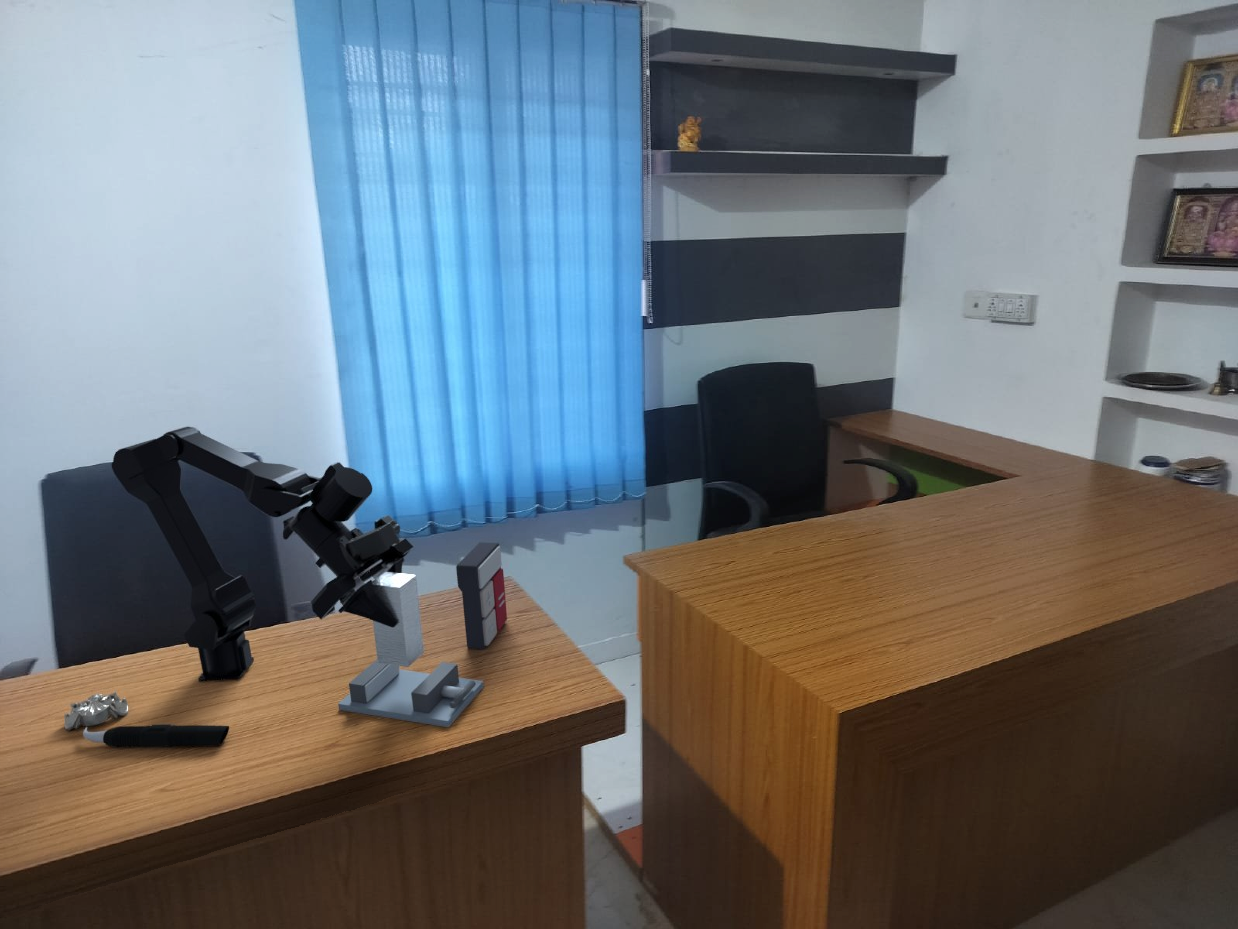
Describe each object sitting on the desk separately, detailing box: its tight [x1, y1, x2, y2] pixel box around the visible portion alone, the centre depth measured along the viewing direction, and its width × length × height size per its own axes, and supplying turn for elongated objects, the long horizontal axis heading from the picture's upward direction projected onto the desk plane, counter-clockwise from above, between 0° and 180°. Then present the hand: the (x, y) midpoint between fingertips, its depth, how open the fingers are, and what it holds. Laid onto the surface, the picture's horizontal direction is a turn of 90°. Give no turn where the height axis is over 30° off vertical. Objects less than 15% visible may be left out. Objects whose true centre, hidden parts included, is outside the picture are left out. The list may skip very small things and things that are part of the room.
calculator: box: [455, 541, 508, 650], centre depth 140 cm, size 11×4×15 cm, turn 168°
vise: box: [337, 659, 485, 728], centre depth 123 cm, size 18×11×4 cm, turn 73°
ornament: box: [64, 691, 129, 732], centre depth 121 cm, size 8×7×4 cm
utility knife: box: [82, 723, 230, 749], centre depth 115 cm, size 22×4×3 cm, turn 88°
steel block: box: [372, 572, 425, 668], centre depth 120 cm, size 4×5×12 cm
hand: (404, 618), depth 120 cm, fingers closed on steel block, 4 cm apart
